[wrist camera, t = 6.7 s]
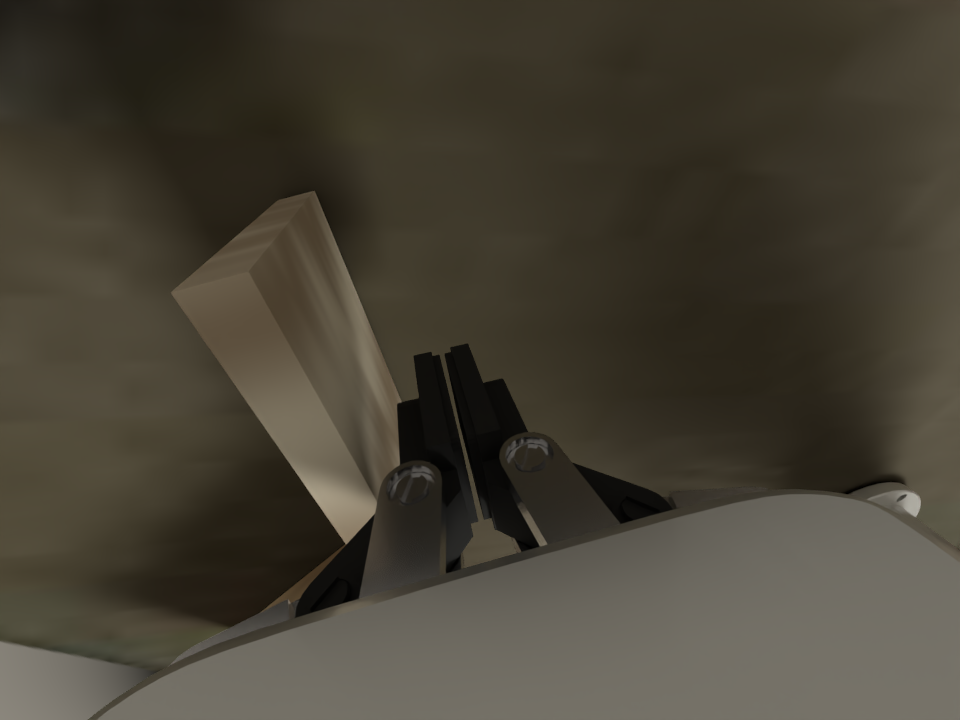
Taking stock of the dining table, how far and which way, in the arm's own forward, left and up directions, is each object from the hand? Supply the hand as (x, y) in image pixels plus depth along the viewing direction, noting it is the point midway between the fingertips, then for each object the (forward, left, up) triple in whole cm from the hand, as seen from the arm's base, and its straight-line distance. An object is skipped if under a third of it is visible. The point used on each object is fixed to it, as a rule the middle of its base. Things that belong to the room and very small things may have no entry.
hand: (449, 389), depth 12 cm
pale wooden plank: (0, +3, -5) cm, 6 cm away
